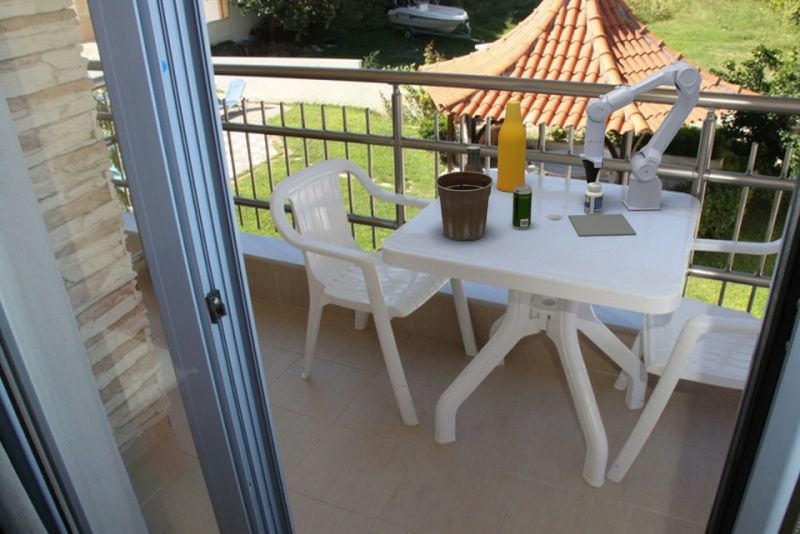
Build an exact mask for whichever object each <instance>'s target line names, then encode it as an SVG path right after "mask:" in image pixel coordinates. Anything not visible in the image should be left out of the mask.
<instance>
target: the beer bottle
mask: <svg viewBox="0 0 800 534" xmlns="http://www.w3.org/2000/svg"><path fill="white" fill-rule="evenodd" d="M521 109H522V108H521V101H519V100H508V101H506V107H505V113H504V114H505V115H504V120H503V123H502V125H501V127H500V130H499V132H498V137H497V139H498V141H497V172H496V173H497V174H496V175H497V177H496V187H497V189H498V190H499V191H502V192H504V191H505V192H506V193H513V190H514V187H515V186H517V185H526V175H525V174H526V156H527V132H526V127H525V126H524V123H523V121H522V110H521Z"/></svg>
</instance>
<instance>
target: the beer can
mask: <svg viewBox="0 0 800 534" xmlns="http://www.w3.org/2000/svg"><path fill="white" fill-rule="evenodd" d="M512 193H513V194H512V221H511V224H512V227H513V228H514V229H516V230H521V229H522V230H523V229H524V230H527V229H529V228H531V225H532V205H533V190H532V186H530V185H527V184H525V185H517V186H515V187H514V190H513V192H512Z"/></svg>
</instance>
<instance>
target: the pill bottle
mask: <svg viewBox="0 0 800 534" xmlns="http://www.w3.org/2000/svg"><path fill="white" fill-rule="evenodd" d="M602 187H603V186H602V183H600V182H597V181H595V182H592V183H589V184H587V190H586V191H584V192H585V193H584V202H583V212H584V213H585V215H601V214H602V212H603V211H602V210H603V203H604V202H603V201H604V192H603V191H602Z"/></svg>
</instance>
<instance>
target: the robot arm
mask: <svg viewBox="0 0 800 534" xmlns="http://www.w3.org/2000/svg"><path fill="white" fill-rule="evenodd" d="M702 81H703V79H702V76H701V73H700V70H699V68H697V67H696V66H695V65H692V64H690V63H689V62H688V61H687V60H683V59H680V60H677V61H675V62H673V63H670V64H667V65H665V66H664V67H662V68H661V69H658V70H657V71H655V72H654V73H652V74H650V75H648V76H647V77H644V78H643V79H641V80H639V81H637V82H636V83H634V84H631V86H626V85H622V86H620V85H617V86H614V89H613V90H612V91H611V90H610V91H609V92H607V93H606V94H604V95H603V94H599V96H598V98H597V97H595V98H592V99H591V100H589V101H588V103H587V104H586V106H585V108H584V111H585V113H586V114H587V116H586V119H585V120H586V123H585V131H584V132H585V133H584V142H583V144H584V145H583V153H579V158H581V159H582V160H581V162H582V164H583V168H584V172H585V181H586V183H587V185H588V184H589V183H592V182H597V178H598V175H599V173H600V171H601V169H602V167H603V166H604V162H603V159H604V157H605V155H604V149H605V137H606V121H607V120H606V119H607V118H608V117H609V115H610V114H613V113H615V112H617V111H619V110H621V109H623V108H624V107H627V106H629V105H631V104H632V103H633V101H634V99H635V98H636V97H638V96H640V95H642V94H645V93H647V92H649V91H652V90H653V89H657V88H658V87H661V86H667V87H675V90H676V93H677V99H676V101H675V102H674V104H673V105H672V107H671V108H670V110H669V111H668V113H666V115H665V117H664V119H663V120H662V122H661V123H660V125H659V127H658V128H657V129H656V131H655V132H654V134H653V135H652V137H651V139H649V141H648V143H647V144H646V145H645V146H643V147H641V148H640V150H639V151H638V152H637V153H636V154H634V155H633V156H632V157H631V158H630V160H629V168H630V170H631V173H630V175H629V177H628V188H627V194H626V195H627V196H626V199H623V200H622V202H621V203H623V205H624V206H626V207H625V208H627V210H629V211H648V210H649V211H651V210H653V211H654V210H655V211H656V210H661V207H660V206H661V201H662V192H663V191H662V190H663V183H662V180H661V178H659V177H656V176H657V173H658V168H659V166H660V165H661V163H662V159H663V158H662V157H663V154H664V152H665V151H666V149H667V148H668V147H669V145H670V143H671V142H672V141H673V139H674V137H675V136H676V135H677V134H678V132H679V130H680V129H681V128H682V126H683V124H684V123H685V122H686V120H687V119H688V117H689V116H690V114H691V113H692V111H693V109H694V108H695V107H696V105H697V104H698V102H699V100H700V94H701V93H700V91H701V83H702Z"/></svg>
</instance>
